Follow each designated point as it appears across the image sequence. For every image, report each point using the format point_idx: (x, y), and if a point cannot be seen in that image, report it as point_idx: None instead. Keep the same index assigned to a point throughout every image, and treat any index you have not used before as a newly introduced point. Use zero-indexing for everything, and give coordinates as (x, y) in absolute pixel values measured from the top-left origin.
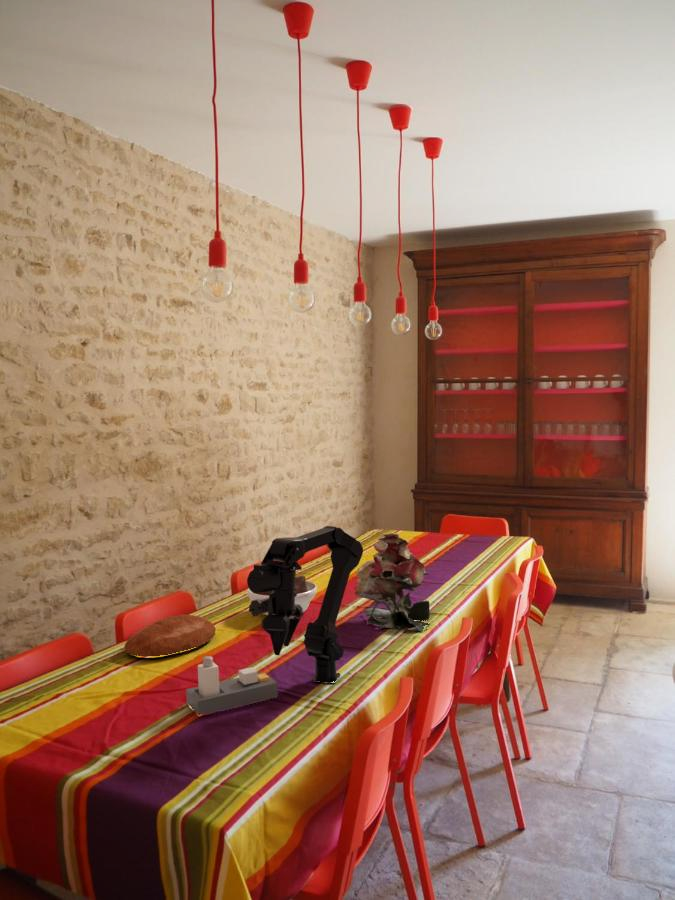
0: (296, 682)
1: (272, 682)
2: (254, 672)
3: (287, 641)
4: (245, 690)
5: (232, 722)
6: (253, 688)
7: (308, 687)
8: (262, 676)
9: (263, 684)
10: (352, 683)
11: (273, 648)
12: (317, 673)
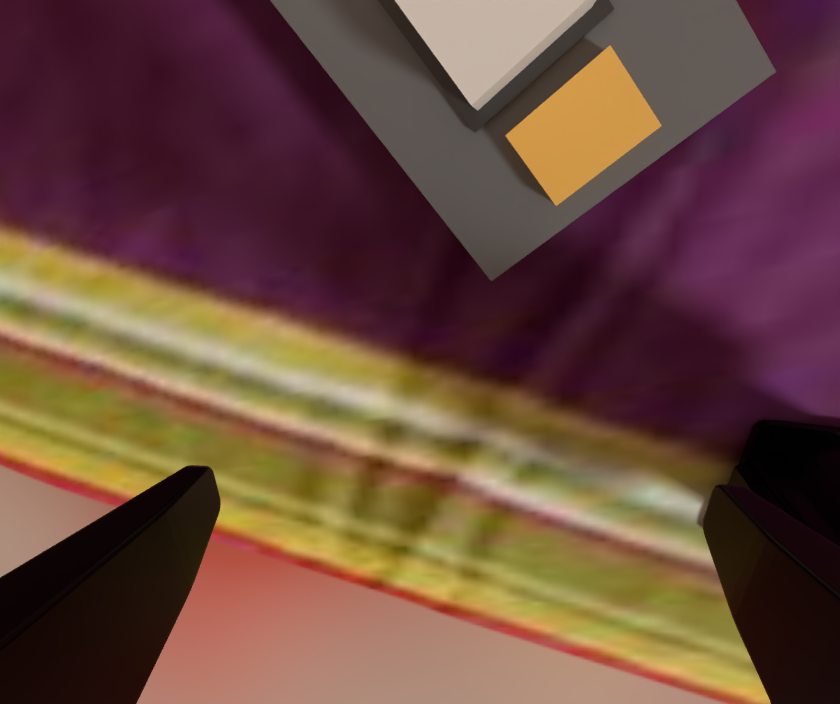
0: (779, 322)
1: (493, 242)
2: (450, 76)
3: (736, 578)
4: (307, 47)
5: (108, 60)
6: (358, 110)
7: (672, 407)
8: (564, 133)
9: (447, 176)
10: (710, 607)
11: (101, 517)
12: (761, 494)
